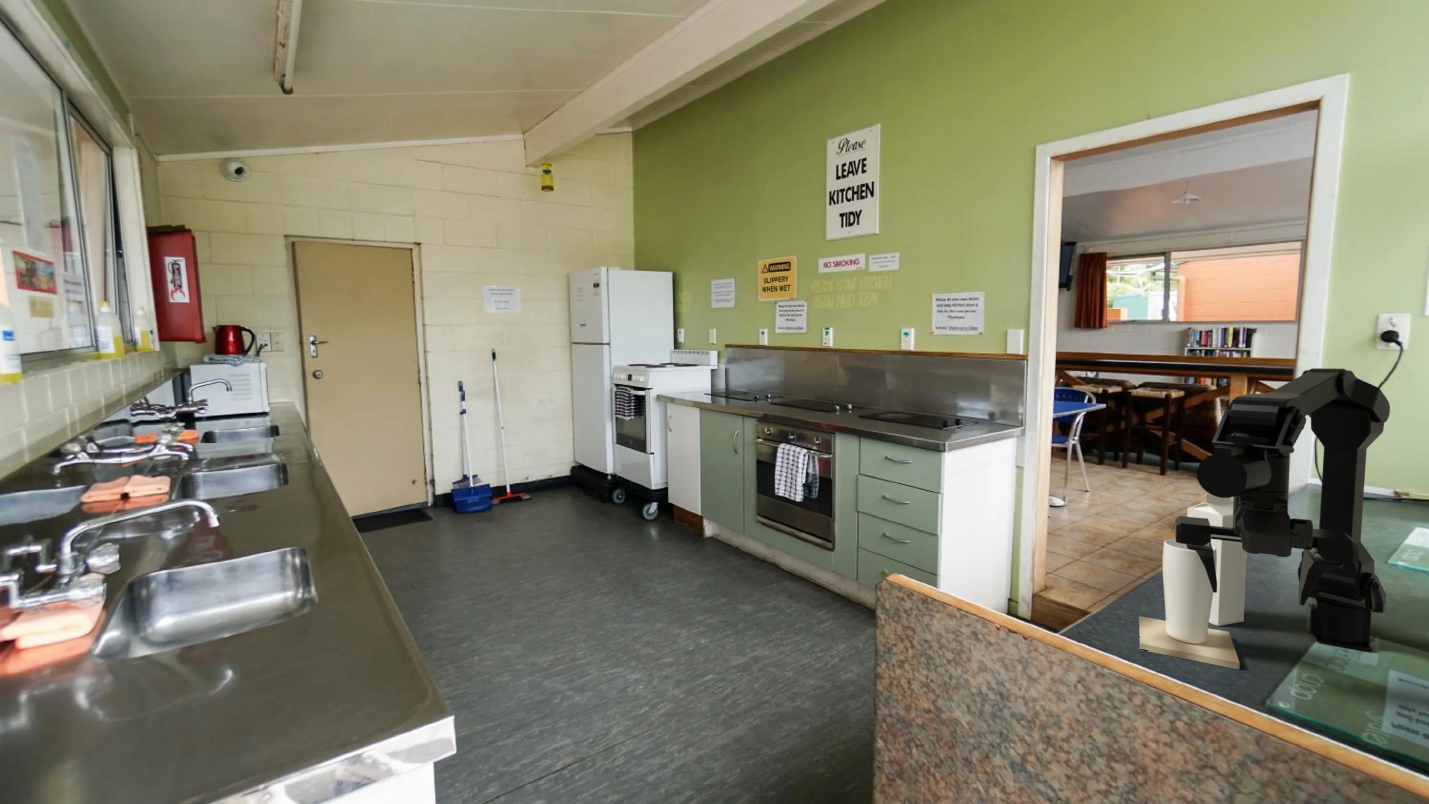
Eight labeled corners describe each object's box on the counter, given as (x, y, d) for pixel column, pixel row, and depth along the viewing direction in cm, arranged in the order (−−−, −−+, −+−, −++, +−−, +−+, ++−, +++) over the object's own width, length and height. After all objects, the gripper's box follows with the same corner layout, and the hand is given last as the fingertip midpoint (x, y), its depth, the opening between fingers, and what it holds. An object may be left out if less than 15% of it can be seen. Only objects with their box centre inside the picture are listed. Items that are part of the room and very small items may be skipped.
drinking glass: (1223, 649, 96) (1227, 552, 95) (1172, 645, 97) (1176, 550, 96) (1198, 629, 103) (1202, 539, 101) (1151, 627, 104) (1155, 537, 103)
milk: (1244, 622, 108) (1251, 494, 106) (1217, 626, 106) (1224, 497, 104) (1207, 608, 114) (1213, 487, 112) (1181, 612, 112) (1188, 489, 110)
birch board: (1228, 637, 102) (1228, 631, 102) (1239, 669, 92) (1239, 662, 92) (1139, 621, 108) (1139, 616, 108) (1139, 649, 98) (1140, 643, 98)
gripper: (1178, 493, 85) (1176, 605, 87) (1374, 508, 75) (1367, 635, 76) (1175, 477, 95) (1173, 579, 96) (1349, 489, 84) (1343, 603, 85)
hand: (1256, 597), depth 88 cm, fingers open, 9 cm apart
